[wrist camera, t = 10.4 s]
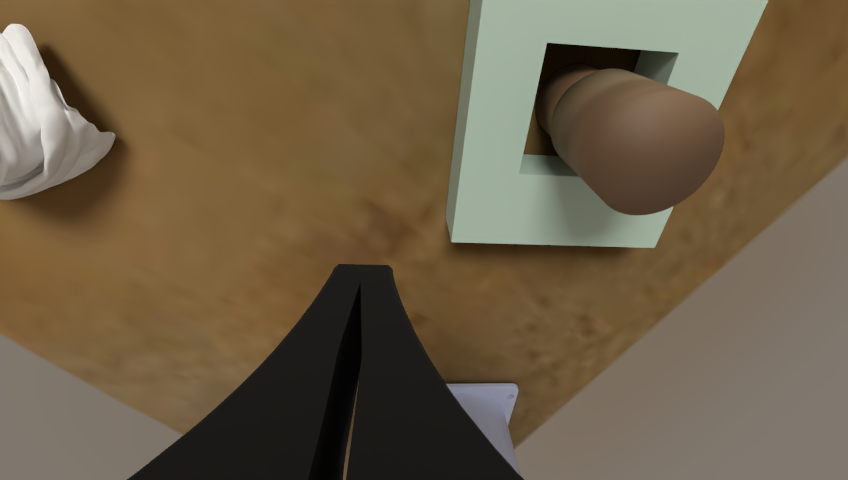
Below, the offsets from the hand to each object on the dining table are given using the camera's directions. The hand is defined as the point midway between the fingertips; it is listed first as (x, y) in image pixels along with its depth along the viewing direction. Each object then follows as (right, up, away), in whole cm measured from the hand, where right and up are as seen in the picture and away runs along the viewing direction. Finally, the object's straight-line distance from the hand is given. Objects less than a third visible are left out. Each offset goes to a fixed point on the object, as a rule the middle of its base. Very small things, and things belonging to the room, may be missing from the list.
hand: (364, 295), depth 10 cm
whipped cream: (-16, +7, +7) cm, 18 cm away
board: (+8, +8, +8) cm, 13 cm away
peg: (+8, +8, +8) cm, 13 cm away
